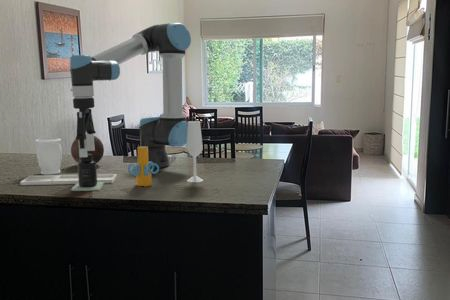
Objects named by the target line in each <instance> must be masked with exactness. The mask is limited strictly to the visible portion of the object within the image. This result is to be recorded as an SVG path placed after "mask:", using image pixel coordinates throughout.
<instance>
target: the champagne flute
mask: <svg viewBox="0 0 450 300" xmlns="http://www.w3.org/2000/svg"><path fill="white" fill-rule="evenodd" d="M187 122H188V132H187V143H186V144H185V145H186V146H185V147H186V149H185V150H186V152H187V154H189V155H190V156H191V157H192V159H193V160H192V168H193V171H192V172H193V174H192V175H193V176H191V177H190V178H188V179H187V180H186V181H187V182H188V183H201V182H203V181H204V179H202V178H200V176H198V175H197V157H198V156H199V155H200V154H201V153H202V152H203V150H204V149H203V146H204V145H203V137H202V127H201V121H199V120H197V121H196V120H191V121H187Z"/></svg>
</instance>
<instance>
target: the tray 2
mask: <svg viewBox="0 0 450 300" xmlns="http://www.w3.org/2000/svg"><path fill="white" fill-rule="evenodd" d="M117 177H118V176H117V173H97V182H104V184H113V183H114V182H115V180H116V179H117Z"/></svg>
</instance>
